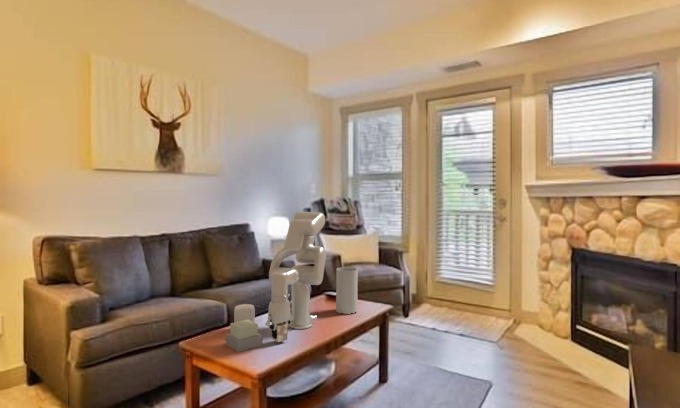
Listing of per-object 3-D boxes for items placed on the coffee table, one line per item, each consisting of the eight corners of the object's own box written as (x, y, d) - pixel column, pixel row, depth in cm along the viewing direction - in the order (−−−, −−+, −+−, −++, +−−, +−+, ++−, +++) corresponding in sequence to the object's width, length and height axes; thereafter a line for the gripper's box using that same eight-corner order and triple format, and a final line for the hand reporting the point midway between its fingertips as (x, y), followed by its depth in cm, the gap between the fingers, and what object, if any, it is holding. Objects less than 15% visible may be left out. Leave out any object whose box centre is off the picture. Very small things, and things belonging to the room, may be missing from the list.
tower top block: (248, 329, 197) (248, 319, 197) (257, 334, 190) (257, 324, 190) (230, 334, 191) (230, 323, 191) (239, 339, 184) (239, 328, 184)
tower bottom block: (249, 339, 199) (249, 328, 199) (262, 346, 190) (262, 335, 190) (226, 344, 191) (226, 334, 191) (238, 352, 182) (238, 341, 182)
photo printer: (234, 330, 209) (234, 306, 209) (234, 327, 214) (234, 303, 213) (254, 329, 212) (255, 305, 212) (254, 326, 216) (254, 302, 216)
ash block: (281, 336, 198) (281, 322, 197) (287, 339, 194) (287, 324, 193) (272, 339, 194) (272, 324, 194) (278, 342, 190) (278, 327, 190)
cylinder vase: (336, 308, 251) (337, 267, 251) (357, 308, 251) (357, 267, 250) (335, 314, 239) (336, 271, 238) (357, 314, 238) (357, 271, 238)
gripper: (290, 293, 201) (290, 330, 202) (259, 299, 190) (259, 338, 191) (299, 296, 196) (299, 334, 197) (267, 303, 185) (268, 343, 186)
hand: (279, 336), depth 194 cm, fingers closed on ash block, 5 cm apart
